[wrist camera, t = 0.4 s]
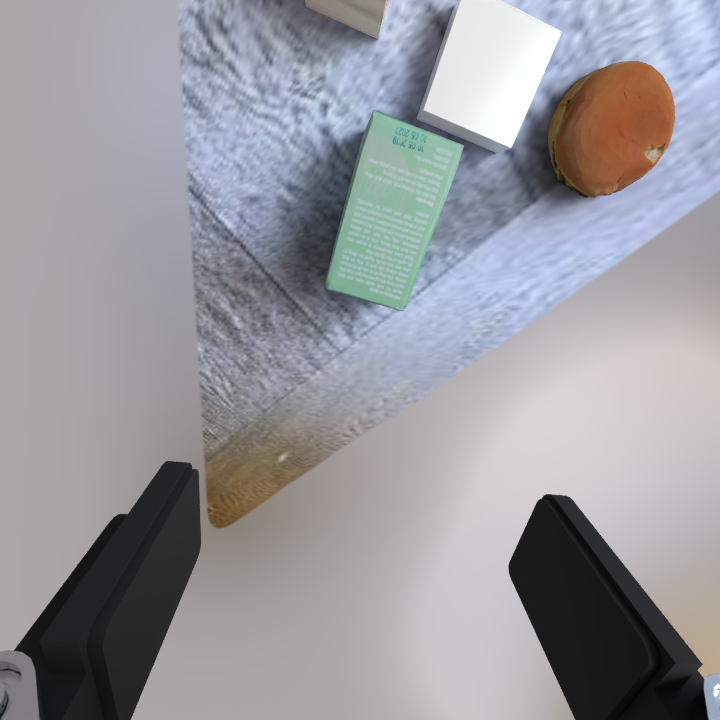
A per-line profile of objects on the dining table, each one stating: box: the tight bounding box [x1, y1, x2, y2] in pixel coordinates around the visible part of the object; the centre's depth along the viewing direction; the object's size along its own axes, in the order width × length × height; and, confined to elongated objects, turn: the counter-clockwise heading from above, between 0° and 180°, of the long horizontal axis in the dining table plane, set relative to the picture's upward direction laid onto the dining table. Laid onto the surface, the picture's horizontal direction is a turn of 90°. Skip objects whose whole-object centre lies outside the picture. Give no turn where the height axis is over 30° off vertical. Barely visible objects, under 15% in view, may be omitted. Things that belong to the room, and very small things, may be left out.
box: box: [325, 110, 464, 311], centre depth 30 cm, size 7×14×8 cm, turn 163°
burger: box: [548, 61, 675, 198], centre depth 30 cm, size 10×9×5 cm
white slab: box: [416, 0, 562, 153], centre depth 28 cm, size 8×8×3 cm
